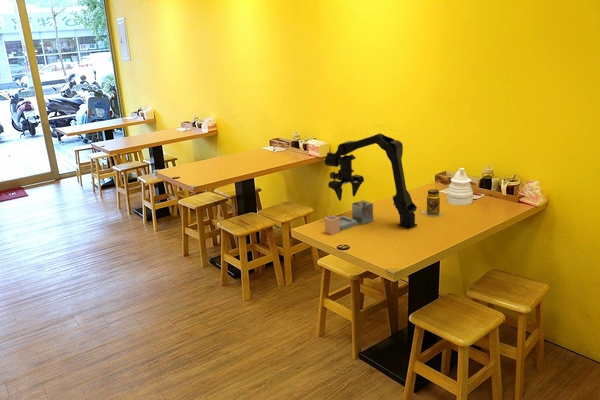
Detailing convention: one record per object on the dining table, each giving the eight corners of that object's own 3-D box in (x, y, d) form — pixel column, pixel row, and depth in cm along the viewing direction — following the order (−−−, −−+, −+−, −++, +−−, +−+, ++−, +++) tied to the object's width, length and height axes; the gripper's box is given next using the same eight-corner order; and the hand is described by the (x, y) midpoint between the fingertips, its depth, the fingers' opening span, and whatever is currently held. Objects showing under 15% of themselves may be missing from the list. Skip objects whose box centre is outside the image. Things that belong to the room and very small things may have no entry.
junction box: (373, 221, 244) (373, 202, 241) (363, 225, 240) (362, 205, 237) (362, 217, 250) (362, 198, 247) (351, 220, 247) (351, 202, 244)
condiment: (431, 217, 245) (431, 193, 242) (420, 212, 253) (421, 189, 249) (443, 214, 248) (444, 190, 244) (432, 209, 255) (433, 186, 252)
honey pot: (475, 204, 259) (477, 170, 253) (450, 205, 259) (451, 171, 254) (468, 196, 271) (469, 164, 265) (443, 198, 271) (445, 165, 266)
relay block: (340, 232, 234) (339, 217, 231) (331, 235, 231) (331, 219, 229) (333, 229, 238) (332, 214, 235) (324, 232, 235) (324, 217, 233)
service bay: (357, 225, 241) (357, 220, 240) (341, 230, 235) (341, 226, 235) (343, 219, 249) (343, 215, 248) (327, 225, 243) (327, 220, 242)
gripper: (349, 161, 258) (350, 191, 263) (320, 168, 248) (321, 199, 252) (364, 165, 249) (364, 195, 254) (335, 172, 239) (336, 204, 244)
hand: (346, 198), depth 251 cm, fingers open, 9 cm apart
